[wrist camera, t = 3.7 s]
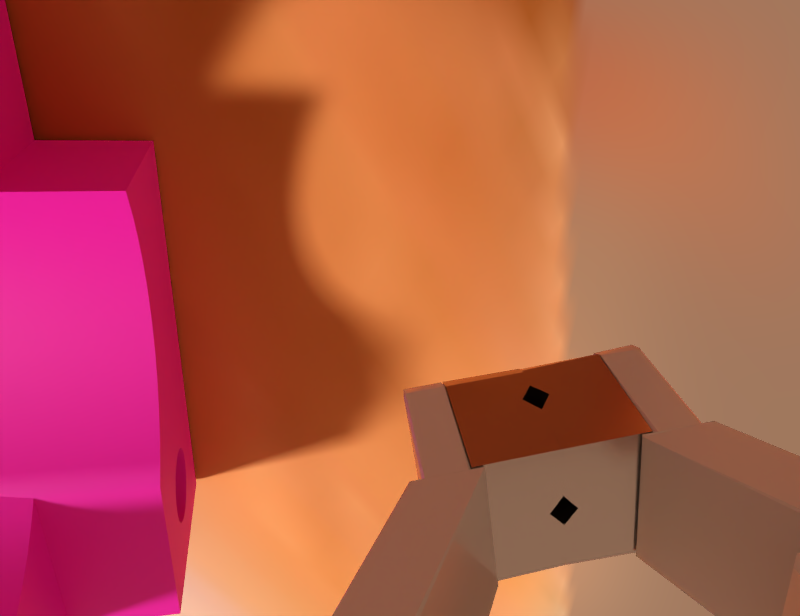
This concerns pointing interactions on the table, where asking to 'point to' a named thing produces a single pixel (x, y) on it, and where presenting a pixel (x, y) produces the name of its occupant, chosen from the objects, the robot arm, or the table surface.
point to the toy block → (87, 376)
